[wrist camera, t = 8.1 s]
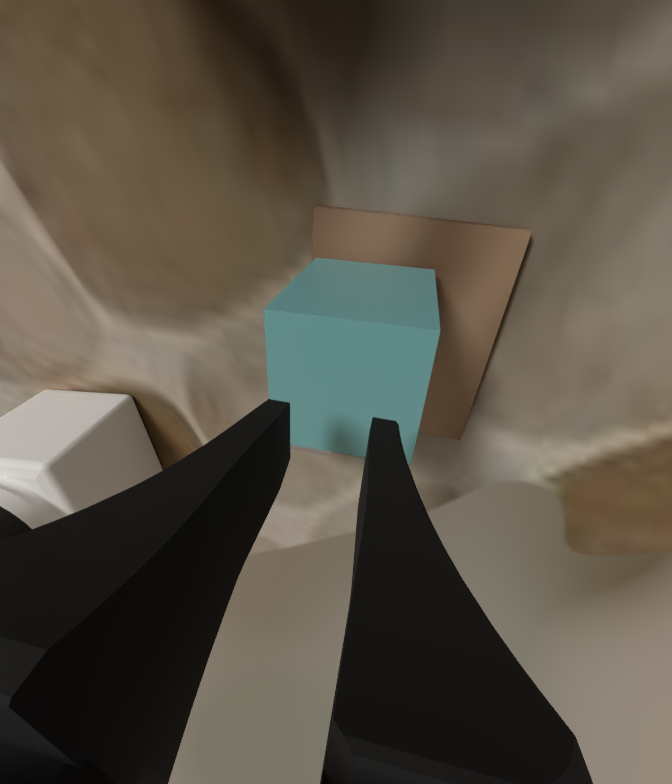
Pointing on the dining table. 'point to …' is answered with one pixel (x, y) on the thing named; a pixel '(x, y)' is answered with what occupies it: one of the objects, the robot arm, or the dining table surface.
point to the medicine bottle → (69, 456)
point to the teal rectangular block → (352, 351)
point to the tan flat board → (438, 290)
